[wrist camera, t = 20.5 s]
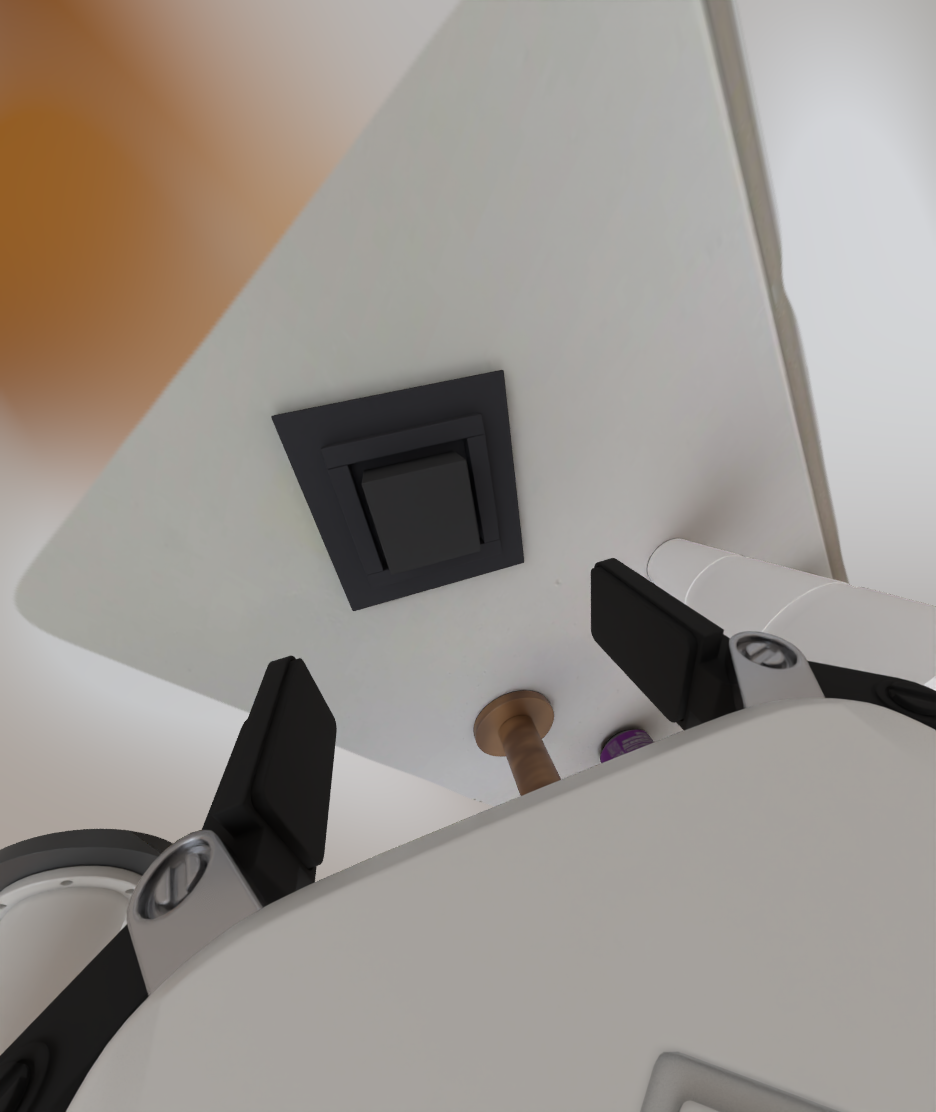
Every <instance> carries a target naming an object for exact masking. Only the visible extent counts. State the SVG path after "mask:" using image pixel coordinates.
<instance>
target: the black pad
mask: <svg viewBox="0 0 936 1112" xmlns="http://www.w3.org/2000/svg"><path fill="white" fill-rule="evenodd" d="M362 487H363V490H364V493H365V496H366V499H367V502H368V506H369V509H370V512H371V515H372V518H373V521H374V524H375V527H376V530H377V533H378V536H379V539H380V543H381V546H382V549H383V552H384V555H385V558H386V561H387V564H388V567H389V570H390V573H391V575H393V574H397V573H401V572H405V571H408V570H412V569H416V568H419V567H423V566H427V565H431V564H434V563H438V562H442V561H445V560H449V559H453V558H457V557H460V556H464V555H468V554H471V553H475V552H479V551H481V546H480V540H479V534H478V528H477V522H476V516H475V510H474V504H473V498H472V492H471V486H470V480H469V474H468V468H467V462H466V460H465V459H464V458H463V457H461V456H460V455H459V454H457V453H456V452H455V451H449V452H444V453H440V454H435V455H431V456H426V457H422V458H417V459H413V460H408V461H404V462H399V463H395V464H390V465H386V466H381V467H377V468H372V469H368V470H364V471H363V478H362Z"/></svg>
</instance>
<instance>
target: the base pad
mask: <svg viewBox="0 0 936 1112" xmlns="http://www.w3.org/2000/svg"><path fill="white" fill-rule="evenodd" d="M272 420H273V422H274V425H275V427H276V430H277V432H278V434H279V437H280V439H281V441H282V444H283V446H284V449H285V451H286V453H287V456H288V458H289V460H290V463H291V465H292V468H293V470H294V472H295V475H296V477H297V480H298V482H299V484H300V487H301V489H302V491H303V494H304V496H305V499H306V501H307V503H308V506H309V508H310V510H311V513H312V515H313V518H314V520H315V522H316V525H317V527H318V529H319V532H320V534H321V537H322V539H323V541H324V544H325V546H326V548H327V551H328V553H329V556H330V558H331V560H332V563H333V565H334V567H335V570H336V572H337V575H338V577H339V579H340V582H341V584H342V587H343V589H344V591H345V594H346V596H347V598H348V601H349V603H350V606H351V608H352V610H353V611H356V610H360V609H363V608H367V607H370V606H374V605H377V604H381V603H384V602H388V601H391V600H395V599H398V598H402V597H405V596H409V595H412V594H416V593H419V592H423V591H426V590H430V589H433V588H437V587H440V586H444V585H447V584H451V583H454V582H458V581H461V580H465V579H468V578H472V577H475V576H479V575H482V574H486V573H489V572H493V571H496V570H500V569H503V568H507V567H510V566H514V565H517V564H521V563H524V556H523V546H522V537H521V528H520V519H519V509H518V500H517V491H516V482H515V472H514V463H513V454H512V445H511V435H510V426H509V417H508V408H507V399H506V389H505V380H504V371H503V370H499V371H494V372H489V373H484V374H479V375H474V376H469V377H464V378H459V379H454V380H449V381H444V382H439V383H434V384H429V385H424V386H419V387H414V388H409V389H404V390H399V391H394V392H389V393H384V394H379V395H374V396H369V397H364V398H359V399H353V400H348V401H343V402H338V403H333V404H328V405H323V406H318V407H313V408H308V409H303V410H298V411H293V412H288V413H283V414H278V415H274V416H272ZM449 451H455V452H456V453H457V454H459V455H460V456H461V457H463V458H464V459H465V460H466V462H467V468H468V474H469V480H470V486H471V492H472V498H473V504H474V510H475V516H476V522H477V528H478V534H479V540H480V546H481V551H479V552H475V553H471V554H468V555H464V556H460V557H457V558H453V559H449V560H445V561H442V562H438V563H434V564H431V565H427V566H423V567H419V568H416V569H412V570H408V571H405V572H401V573H397V574H393V575H391V573H390V570H389V567H388V564H387V561H386V558H385V555H384V552H383V549H382V546H381V543H380V539H379V536H378V533H377V530H376V527H375V524H374V521H373V518H372V515H371V512H370V509H369V506H368V502H367V499H366V496H365V493H364V490H363V487H362V478H363V471H364V470H368V469H372V468H377V467H381V466H386V465H390V464H395V463H399V462H404V461H408V460H413V459H417V458H422V457H426V456H431V455H435V454H440V453H444V452H449Z"/></svg>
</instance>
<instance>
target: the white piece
mask: <svg viewBox="0 0 936 1112" xmlns="http://www.w3.org/2000/svg"><path fill="white" fill-rule="evenodd" d="M647 573H648V576H649V578H650V579H651V580H652V581H653V582H654V583H655V584H656V585H657V586H658V587H660V588H661V589H663V590H664V591H666V592H667V593H669V594H670V595H672V596H673V597H675V598H676V599H678V600H679V601H681V602H682V603H684V604H686V605H687V606H689V607H690V608H692V609H693V610H695V611H696V612H698V613H699V614H701V615H702V616H704V617H705V618H707V619H709V620H710V621H712V622H713V623H715V624H716V625H718V626H719V627H721V628H722V629H724V633H723V634H724V635H726V636H727V637H729V638H731V637H732V636H733V635H735V634H737V633H739V632H745V631H756V632H763V633H768V634H772V635H774V636H777V637H780V638H782V639H784V640H786V641H788V642H790V643H792V644H793V645H794V646H796V647H797V648H798V649H799V650H800V651H801V652H802V653H803V655H804V656H805V658H806V660H807V661H812V662H817V663H822V664H828V665H833V666H838V667H844V668H849V669H854V670H859V671H865V672H870V673H875V674H880V675H886V676H891V677H896V678H901V679H905V680H909V681H913V682H916V683H918V684H921V685H924V686H926V687H929V688H931V689H933V690H935V691H936V606H933V605H929V604H925V603H921V602H918V601H914V600H910V599H906V598H902V597H899V596H895V595H891V594H887V593H883V592H880V591H876V590H872V589H868V588H864V587H854V586H851V585H850V584H848V583H845V582H842V581H838V580H834V579H830V578H826V577H822V576H819V575H815V574H811V573H807V572H803V571H800V570H796V569H792V568H788V567H784V566H781V565H777V564H773V563H769V562H765V561H761V560H758V559H754V558H747V557H745V556H743V555H740V554H736V553H732V552H729V551H725V550H721V549H717V548H714V547H710V546H706V545H703V544H699V543H695V542H691V541H688V540H684V539H679V538H677V539H672V540H669V541H667V542H665V543H663V544H662V545H661V546H659V547H658V548H657V549H656V550H655V552H654V553H653V554H652V556H651V558H650V560H649V563H648V567H647Z"/></svg>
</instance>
